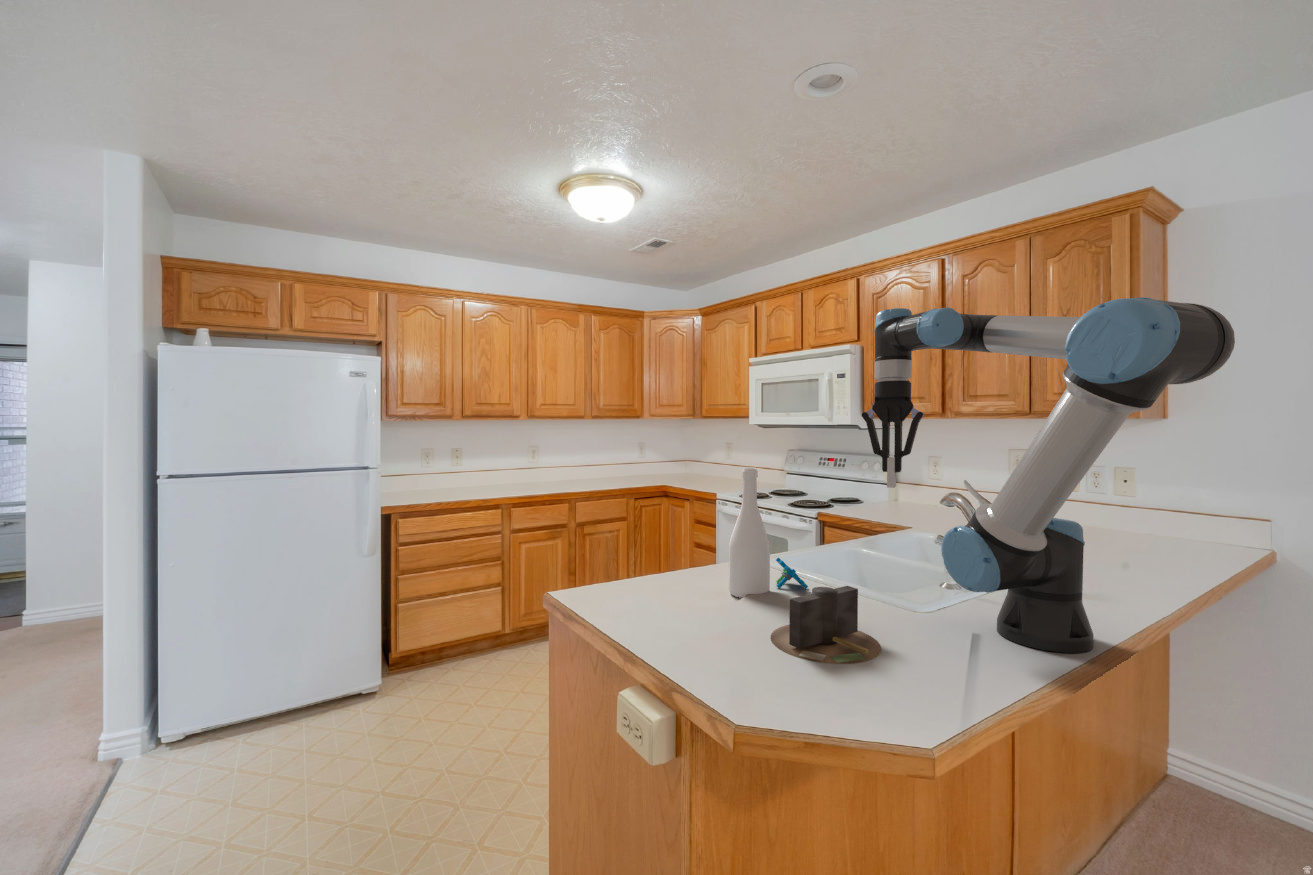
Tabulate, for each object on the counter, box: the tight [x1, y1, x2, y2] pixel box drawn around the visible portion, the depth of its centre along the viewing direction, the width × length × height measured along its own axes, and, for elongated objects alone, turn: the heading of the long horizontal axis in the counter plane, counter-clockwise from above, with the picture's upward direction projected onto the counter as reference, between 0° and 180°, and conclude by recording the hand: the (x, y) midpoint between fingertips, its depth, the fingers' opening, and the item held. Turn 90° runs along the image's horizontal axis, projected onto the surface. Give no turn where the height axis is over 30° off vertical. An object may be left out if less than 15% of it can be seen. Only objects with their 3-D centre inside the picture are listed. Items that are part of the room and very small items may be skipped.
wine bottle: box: [728, 467, 771, 599], centre depth 135 cm, size 10×10×30 cm
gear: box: [775, 557, 809, 590], centre depth 140 cm, size 11×6×10 cm
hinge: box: [788, 585, 868, 654], centre depth 99 cm, size 15×11×9 cm
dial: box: [770, 624, 882, 665], centre depth 102 cm, size 19×19×2 cm
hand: (891, 486), depth 127 cm, fingers closed
